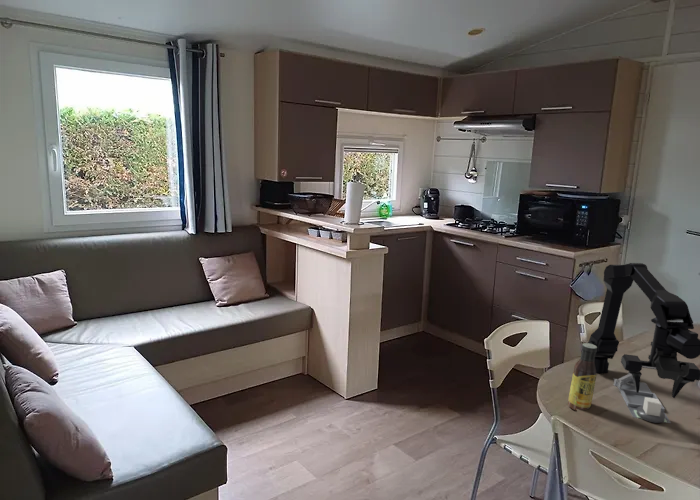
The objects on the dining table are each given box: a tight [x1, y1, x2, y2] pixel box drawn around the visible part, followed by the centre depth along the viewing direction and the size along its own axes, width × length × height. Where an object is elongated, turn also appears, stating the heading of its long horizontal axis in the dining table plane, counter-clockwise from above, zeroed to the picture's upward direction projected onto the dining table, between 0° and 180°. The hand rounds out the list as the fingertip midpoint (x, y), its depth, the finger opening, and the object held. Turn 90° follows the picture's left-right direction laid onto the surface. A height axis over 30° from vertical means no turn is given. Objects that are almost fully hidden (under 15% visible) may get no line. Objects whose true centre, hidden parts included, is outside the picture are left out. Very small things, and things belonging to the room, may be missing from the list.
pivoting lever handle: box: [613, 371, 634, 388], centre depth 164 cm, size 3×11×3 cm, turn 126°
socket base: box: [613, 377, 672, 424], centre depth 157 cm, size 10×25×2 cm, turn 165°
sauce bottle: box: [567, 342, 598, 411], centre depth 151 cm, size 7×6×20 cm
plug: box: [637, 397, 666, 424], centre depth 146 cm, size 7×7×5 cm
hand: (655, 394), depth 145 cm, fingers open, 9 cm apart
